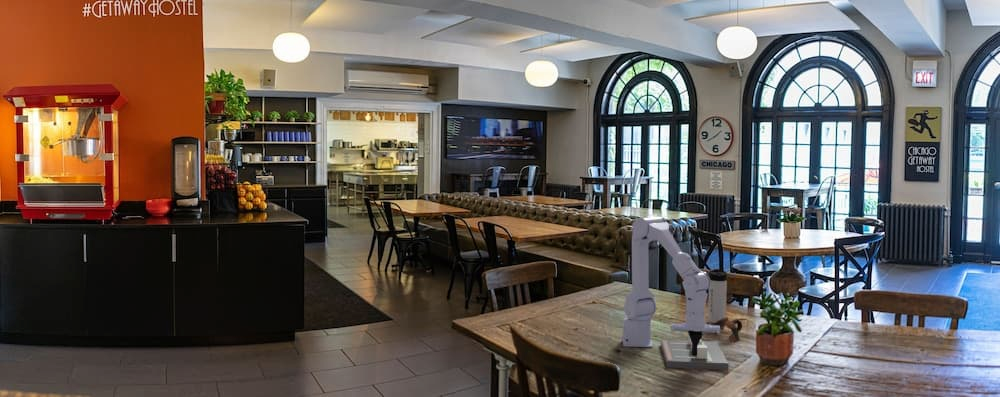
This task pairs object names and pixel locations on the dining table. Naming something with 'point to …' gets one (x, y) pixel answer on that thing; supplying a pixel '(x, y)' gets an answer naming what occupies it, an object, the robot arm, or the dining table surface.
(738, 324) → the pottery mug
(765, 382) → the dining table surface
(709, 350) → the panel
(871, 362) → the dining table surface
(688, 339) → the block
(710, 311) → the travel mug
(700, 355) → the block
